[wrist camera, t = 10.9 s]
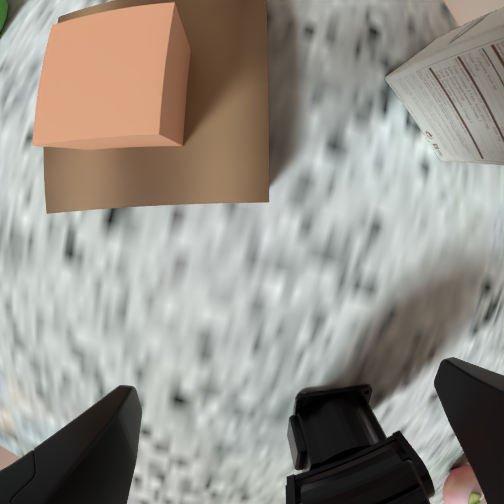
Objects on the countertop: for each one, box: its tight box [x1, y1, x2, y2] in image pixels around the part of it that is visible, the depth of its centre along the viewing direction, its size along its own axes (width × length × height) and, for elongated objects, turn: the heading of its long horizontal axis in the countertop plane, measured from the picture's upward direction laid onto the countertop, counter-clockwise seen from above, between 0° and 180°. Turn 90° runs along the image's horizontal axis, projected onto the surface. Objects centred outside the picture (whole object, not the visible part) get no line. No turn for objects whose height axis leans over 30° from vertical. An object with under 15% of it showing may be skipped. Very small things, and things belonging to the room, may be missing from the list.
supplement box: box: [385, 8, 504, 165], centre depth 11 cm, size 7×7×13 cm
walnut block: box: [44, 0, 269, 214], centre depth 14 cm, size 12×12×4 cm
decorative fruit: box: [443, 465, 484, 504], centre depth 26 cm, size 9×8×10 cm
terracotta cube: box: [33, 2, 191, 150], centre depth 10 cm, size 5×5×5 cm
